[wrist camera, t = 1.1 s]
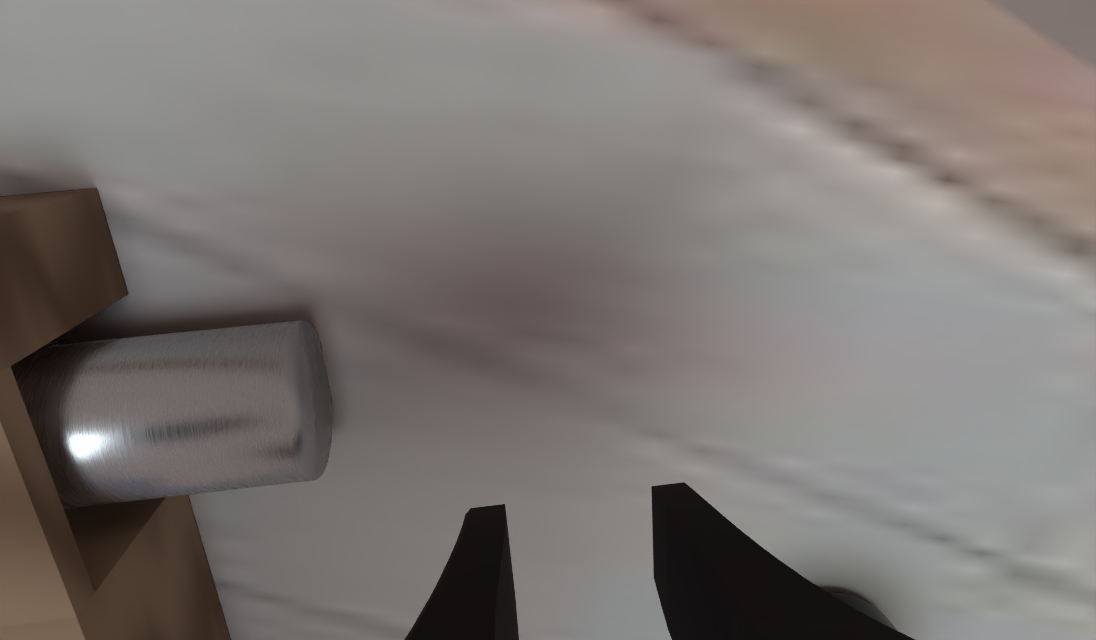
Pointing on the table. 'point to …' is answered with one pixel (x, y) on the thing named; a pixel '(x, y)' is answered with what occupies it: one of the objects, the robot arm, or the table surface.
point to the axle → (180, 412)
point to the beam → (24, 478)
